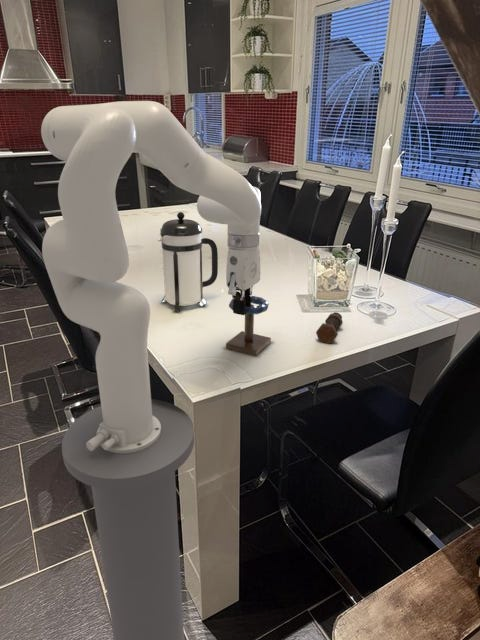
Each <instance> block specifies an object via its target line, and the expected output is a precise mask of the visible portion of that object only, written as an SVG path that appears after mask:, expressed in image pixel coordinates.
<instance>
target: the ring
mask: <svg viewBox="0 0 480 640" xmlns="http://www.w3.org/2000/svg"><path fill="white" fill-rule="evenodd" d="M251 304H252V305H254V307H245V315H253V314H254V315H259V314H262V313H266V312H267V311H268V308H269V305H270V303H269V302H268V300H266V299H264V298H263V297H261V296H256V295H251ZM255 305H256V306H255ZM228 308H229V309H230V310H231V311H233V299H230V302H229V304H228ZM245 315H244V316H245Z"/></svg>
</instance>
